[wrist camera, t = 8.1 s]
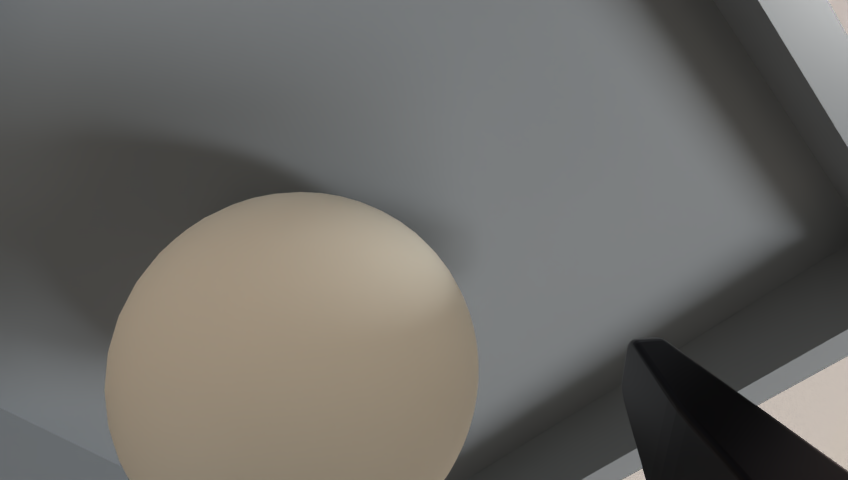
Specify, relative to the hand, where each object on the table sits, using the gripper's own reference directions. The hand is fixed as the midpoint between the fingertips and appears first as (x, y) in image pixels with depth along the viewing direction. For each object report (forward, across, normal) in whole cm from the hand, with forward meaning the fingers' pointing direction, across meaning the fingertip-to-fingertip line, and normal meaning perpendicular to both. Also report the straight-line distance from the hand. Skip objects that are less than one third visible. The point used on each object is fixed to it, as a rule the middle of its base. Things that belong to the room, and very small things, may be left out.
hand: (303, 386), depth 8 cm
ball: (0, 0, 0) cm, 0 cm away
